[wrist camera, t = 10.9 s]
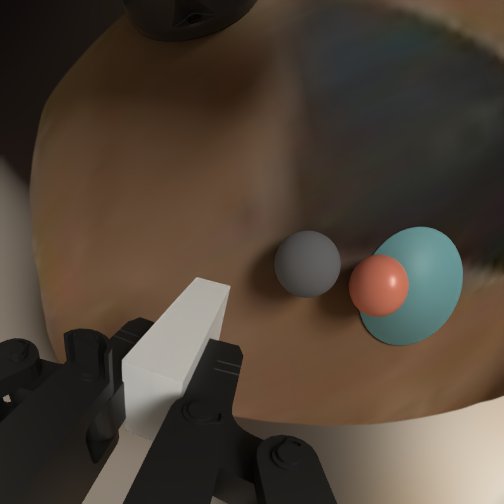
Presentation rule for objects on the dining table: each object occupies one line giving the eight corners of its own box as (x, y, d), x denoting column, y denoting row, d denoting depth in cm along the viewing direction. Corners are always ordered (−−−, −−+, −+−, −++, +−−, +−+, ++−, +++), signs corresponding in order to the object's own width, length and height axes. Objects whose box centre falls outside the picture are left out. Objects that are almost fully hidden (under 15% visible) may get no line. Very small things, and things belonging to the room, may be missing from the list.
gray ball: (324, 289, 19) (354, 293, 23) (316, 214, 20) (346, 232, 24) (262, 300, 22) (300, 302, 26) (258, 233, 24) (295, 246, 28)
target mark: (340, 334, 27) (340, 335, 27) (380, 210, 24) (381, 210, 24) (434, 350, 27) (435, 350, 27) (475, 245, 24) (476, 245, 24)
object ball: (326, 290, 24) (369, 316, 19) (357, 237, 24) (404, 253, 19) (358, 310, 27) (397, 334, 22) (385, 263, 27) (427, 280, 22)
